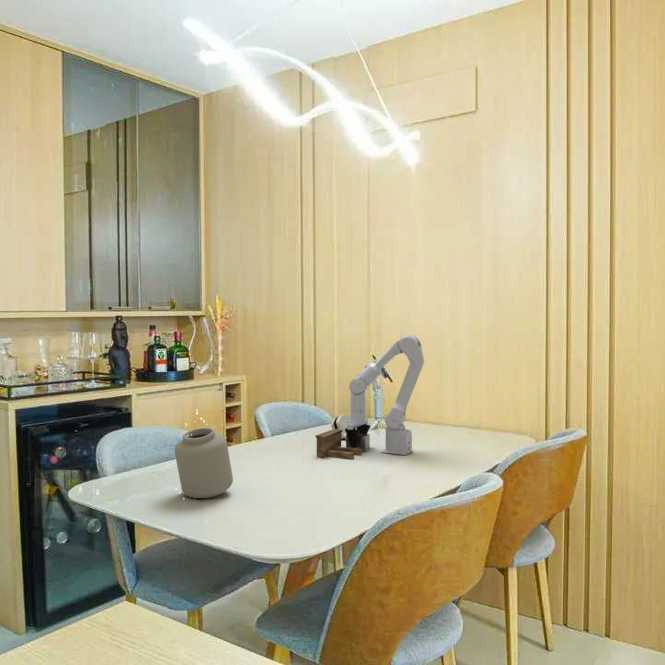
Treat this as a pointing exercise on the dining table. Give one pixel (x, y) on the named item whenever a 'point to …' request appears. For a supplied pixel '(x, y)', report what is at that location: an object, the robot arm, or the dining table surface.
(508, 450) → the dining table surface
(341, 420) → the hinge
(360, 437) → the grey rectangular block
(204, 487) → the jar
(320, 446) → the brown panel with bars
